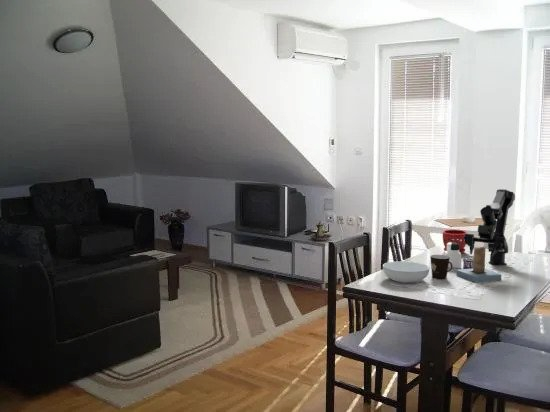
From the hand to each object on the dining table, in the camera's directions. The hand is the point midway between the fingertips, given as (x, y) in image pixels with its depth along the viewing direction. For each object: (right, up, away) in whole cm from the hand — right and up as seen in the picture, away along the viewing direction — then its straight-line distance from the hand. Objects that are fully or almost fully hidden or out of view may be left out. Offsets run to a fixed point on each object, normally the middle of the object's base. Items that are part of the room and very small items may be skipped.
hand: (480, 255), depth 266 cm
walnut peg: (-1, -10, 0) cm, 10 cm away
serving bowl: (-36, -11, -5) cm, 38 cm away
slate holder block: (-1, -10, 0) cm, 10 cm away
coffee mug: (-20, -11, -2) cm, 22 cm away
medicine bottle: (-6, -8, +22) cm, 24 cm away
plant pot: (+5, -3, +55) cm, 55 cm away
